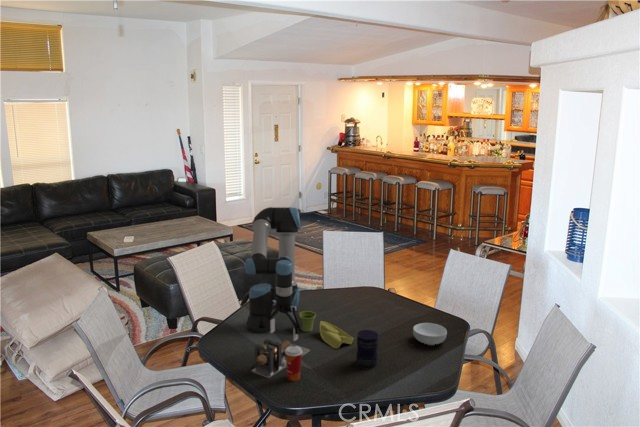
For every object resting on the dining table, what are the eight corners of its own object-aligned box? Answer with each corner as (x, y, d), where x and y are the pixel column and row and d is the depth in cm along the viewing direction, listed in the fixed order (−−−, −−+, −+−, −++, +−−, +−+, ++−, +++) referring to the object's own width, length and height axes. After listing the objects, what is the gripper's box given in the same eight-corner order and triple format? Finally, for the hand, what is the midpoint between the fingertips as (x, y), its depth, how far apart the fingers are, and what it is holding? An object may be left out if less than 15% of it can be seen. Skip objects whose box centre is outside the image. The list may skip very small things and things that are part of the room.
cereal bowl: (449, 338, 287) (450, 326, 286) (441, 352, 272) (442, 339, 271) (417, 332, 294) (418, 319, 293) (408, 345, 279) (409, 332, 278)
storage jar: (371, 371, 253) (372, 341, 250) (352, 365, 258) (353, 335, 255) (380, 362, 261) (382, 333, 258) (362, 356, 266) (363, 328, 263)
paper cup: (284, 373, 249) (284, 345, 246) (301, 373, 250) (302, 344, 247) (285, 383, 242) (285, 353, 238) (302, 382, 242) (302, 353, 239)
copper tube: (283, 347, 264) (283, 338, 263) (290, 350, 262) (290, 341, 261) (256, 364, 248) (256, 354, 247) (264, 367, 245) (264, 357, 244)
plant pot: (318, 327, 297) (318, 312, 295) (312, 334, 289) (312, 319, 287) (301, 324, 300) (302, 309, 298) (295, 331, 292) (295, 316, 290)
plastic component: (355, 339, 279) (342, 336, 272) (349, 353, 279) (336, 350, 272) (331, 323, 294) (318, 320, 287) (325, 336, 294) (312, 333, 287)
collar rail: (293, 345, 276) (293, 320, 273) (309, 350, 271) (310, 325, 268) (251, 371, 250) (251, 344, 247) (268, 378, 245) (268, 350, 242)
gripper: (257, 290, 258) (258, 331, 263) (301, 303, 245) (300, 346, 250) (267, 285, 264) (268, 325, 269) (310, 297, 251) (310, 340, 256)
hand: (283, 335), depth 260 cm, fingers open, 13 cm apart
